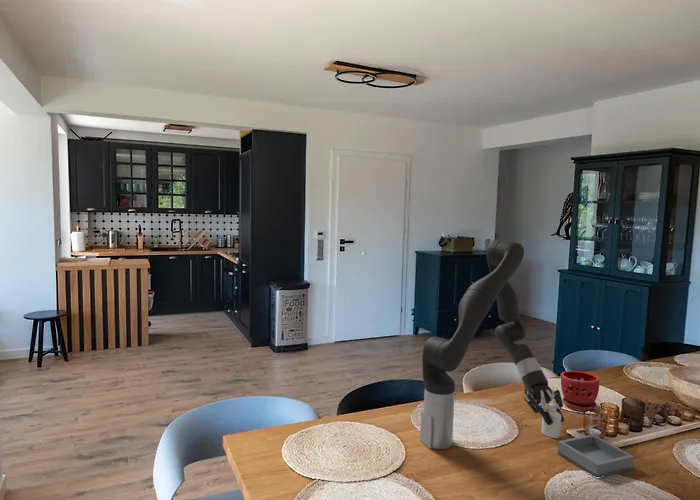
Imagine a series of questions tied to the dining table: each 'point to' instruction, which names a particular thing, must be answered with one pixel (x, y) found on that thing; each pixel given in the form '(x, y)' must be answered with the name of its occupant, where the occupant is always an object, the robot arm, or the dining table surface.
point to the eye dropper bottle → (555, 427)
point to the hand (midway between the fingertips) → (556, 422)
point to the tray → (595, 455)
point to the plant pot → (579, 390)
